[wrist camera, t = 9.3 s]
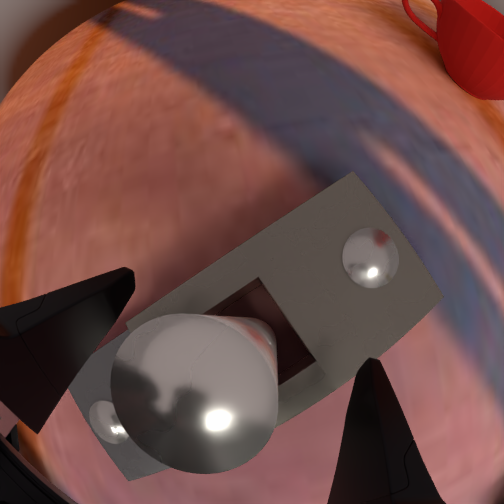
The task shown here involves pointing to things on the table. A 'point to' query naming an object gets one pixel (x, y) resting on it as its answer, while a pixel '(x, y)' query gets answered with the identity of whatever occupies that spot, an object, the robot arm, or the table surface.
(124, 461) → the plate
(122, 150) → the table surface
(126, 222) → the table surface
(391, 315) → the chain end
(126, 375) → the steel pin
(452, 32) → the ceramic cup
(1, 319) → the robot arm
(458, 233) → the table surface
